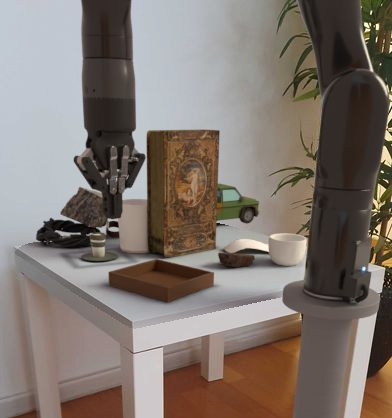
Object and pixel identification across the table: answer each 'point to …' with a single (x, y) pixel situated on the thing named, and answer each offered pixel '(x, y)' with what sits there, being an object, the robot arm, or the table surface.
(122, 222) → the mug
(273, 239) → the teacup
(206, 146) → the book
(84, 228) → the cable
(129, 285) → the tray
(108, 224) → the watch
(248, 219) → the toy truck
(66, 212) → the stone block
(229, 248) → the computer mouse
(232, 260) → the stone
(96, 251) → the olive disc with post
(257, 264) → the table surface
